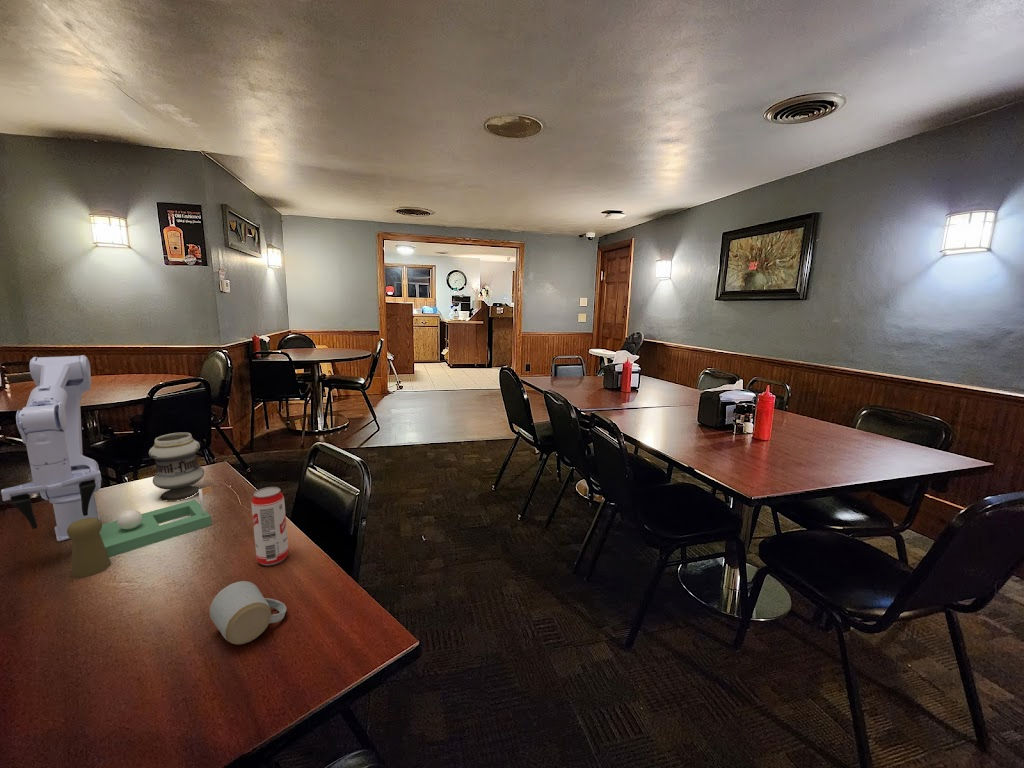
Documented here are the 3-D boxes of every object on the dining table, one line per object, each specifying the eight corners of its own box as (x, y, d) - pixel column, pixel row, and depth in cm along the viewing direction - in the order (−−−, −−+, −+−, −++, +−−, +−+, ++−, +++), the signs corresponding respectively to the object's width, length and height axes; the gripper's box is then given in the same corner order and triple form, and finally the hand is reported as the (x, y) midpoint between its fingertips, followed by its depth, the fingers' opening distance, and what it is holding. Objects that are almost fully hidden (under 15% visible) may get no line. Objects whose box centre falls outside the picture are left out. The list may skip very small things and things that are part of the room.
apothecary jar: (143, 501, 122) (135, 440, 119) (182, 484, 134) (175, 429, 131) (180, 505, 120) (172, 443, 117) (216, 487, 132) (209, 431, 129)
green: (91, 537, 103) (89, 527, 103) (196, 507, 119) (195, 499, 119) (99, 560, 94) (97, 549, 94) (211, 524, 110) (210, 515, 110)
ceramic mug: (227, 657, 69) (223, 614, 68) (210, 632, 74) (207, 592, 73) (295, 622, 77) (292, 583, 76) (275, 602, 82) (273, 565, 81)
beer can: (256, 570, 92) (249, 500, 89) (257, 555, 97) (251, 488, 94) (289, 562, 94) (283, 494, 92) (288, 548, 100) (283, 483, 97)
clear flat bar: (201, 514, 110) (198, 489, 109) (213, 511, 112) (210, 485, 111) (202, 515, 110) (198, 489, 108) (214, 512, 112) (211, 486, 110)
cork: (86, 579, 88) (77, 529, 86) (63, 575, 89) (54, 526, 87) (118, 562, 94) (111, 515, 92) (96, 559, 95) (88, 512, 93)
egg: (117, 528, 103) (114, 511, 102) (141, 521, 106) (138, 504, 105) (120, 535, 100) (117, 517, 99) (145, 528, 103) (142, 510, 102)
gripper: (-4, 475, 83) (9, 539, 86) (99, 456, 94) (108, 514, 96) (-3, 466, 88) (9, 527, 90) (95, 449, 99) (103, 505, 101)
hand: (60, 520), depth 94 cm, fingers open, 7 cm apart
